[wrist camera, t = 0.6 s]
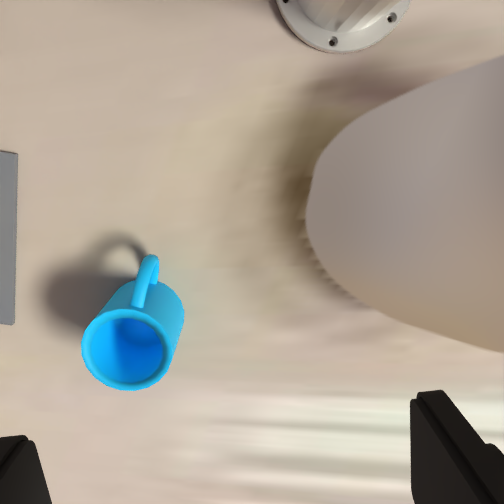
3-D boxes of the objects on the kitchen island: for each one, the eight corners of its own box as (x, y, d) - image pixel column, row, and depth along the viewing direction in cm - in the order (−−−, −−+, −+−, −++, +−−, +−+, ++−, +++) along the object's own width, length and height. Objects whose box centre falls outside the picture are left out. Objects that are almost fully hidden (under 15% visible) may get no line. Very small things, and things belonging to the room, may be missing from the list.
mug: (177, 355, 48) (164, 398, 40) (103, 340, 47) (75, 381, 39) (197, 253, 45) (188, 278, 37) (119, 236, 44) (92, 258, 36)
